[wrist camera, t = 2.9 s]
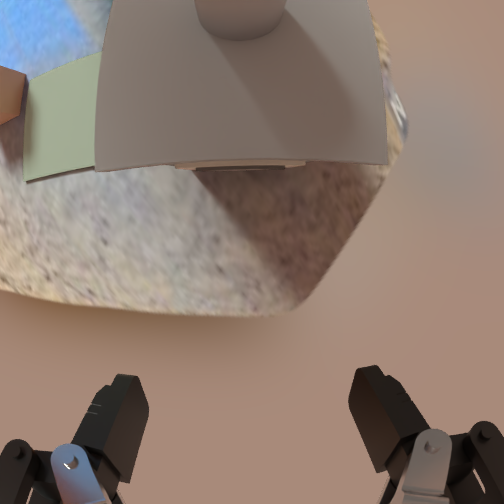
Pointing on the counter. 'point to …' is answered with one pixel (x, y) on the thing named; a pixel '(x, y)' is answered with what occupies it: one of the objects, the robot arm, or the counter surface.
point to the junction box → (239, 85)
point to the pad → (61, 119)
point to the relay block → (10, 93)
